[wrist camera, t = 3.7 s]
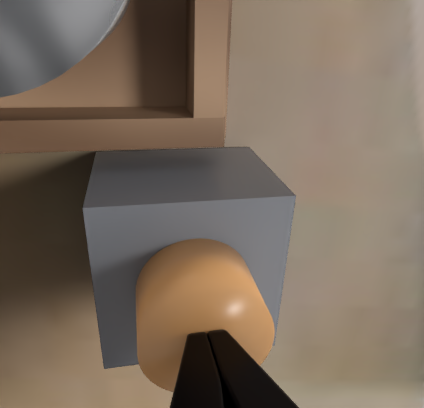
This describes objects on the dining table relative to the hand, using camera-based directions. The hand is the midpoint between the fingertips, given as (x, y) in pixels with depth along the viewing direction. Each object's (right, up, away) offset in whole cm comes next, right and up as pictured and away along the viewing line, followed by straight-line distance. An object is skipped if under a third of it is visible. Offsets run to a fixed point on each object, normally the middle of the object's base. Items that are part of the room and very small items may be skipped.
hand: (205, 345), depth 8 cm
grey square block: (-1, +3, +5) cm, 6 cm away
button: (0, +1, +2) cm, 2 cm away
